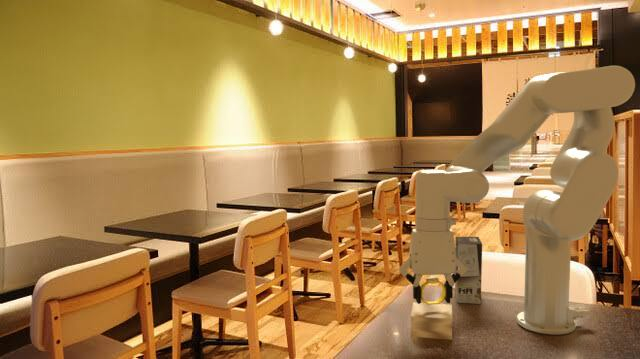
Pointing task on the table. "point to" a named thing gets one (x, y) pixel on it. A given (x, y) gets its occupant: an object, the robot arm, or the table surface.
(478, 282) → the coffee box
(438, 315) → the wood block
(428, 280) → the watch
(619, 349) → the table surface
